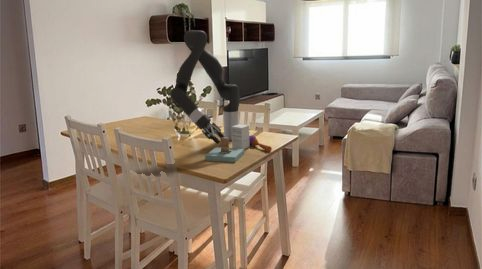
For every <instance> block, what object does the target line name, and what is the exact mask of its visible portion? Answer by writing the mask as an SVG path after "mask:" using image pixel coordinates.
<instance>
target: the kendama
mask: <svg viewBox="0 0 482 269" xmlns="http://www.w3.org/2000/svg"><path fill="white" fill-rule="evenodd" d="M249 141H250V147H257V146H259V147H260V148H262V149H263V150H264V151H266V152H267V153H269V152H271V151H272V146H270V145H265V144H264V143H263V144H262V143H260V142H259V140H258V139H257V138H256V136H255V135H249Z"/></svg>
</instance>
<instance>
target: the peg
mask: <svg viewBox="0 0 482 269" xmlns="http://www.w3.org/2000/svg"><path fill="white" fill-rule="evenodd" d="M229 141H230V140H229V139H228V137H222V138H220V148H221V153H222V154H228V153H229V148H230V146H229Z"/></svg>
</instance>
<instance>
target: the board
mask: <svg viewBox="0 0 482 269" xmlns="http://www.w3.org/2000/svg"><path fill="white" fill-rule="evenodd" d="M243 155H245V149H236V148H232V147H229V153H228V154H222V153H221V147H214V148H213V149H211V150H210V151H209V152H208V153H207V154H205V155H204V160H205V161H211V162H212V161H213V162H228V163H237V162H238V160H240V159H241V157H243Z"/></svg>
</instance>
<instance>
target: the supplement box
mask: <svg viewBox="0 0 482 269" xmlns="http://www.w3.org/2000/svg"><path fill="white" fill-rule="evenodd" d="M249 136H250V125H247V124H241V123H239V124H238V125H235V126H232V140H231V148H236V149H244V150H245V149H248V148H250V147H251V146H250V141H249Z"/></svg>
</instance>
